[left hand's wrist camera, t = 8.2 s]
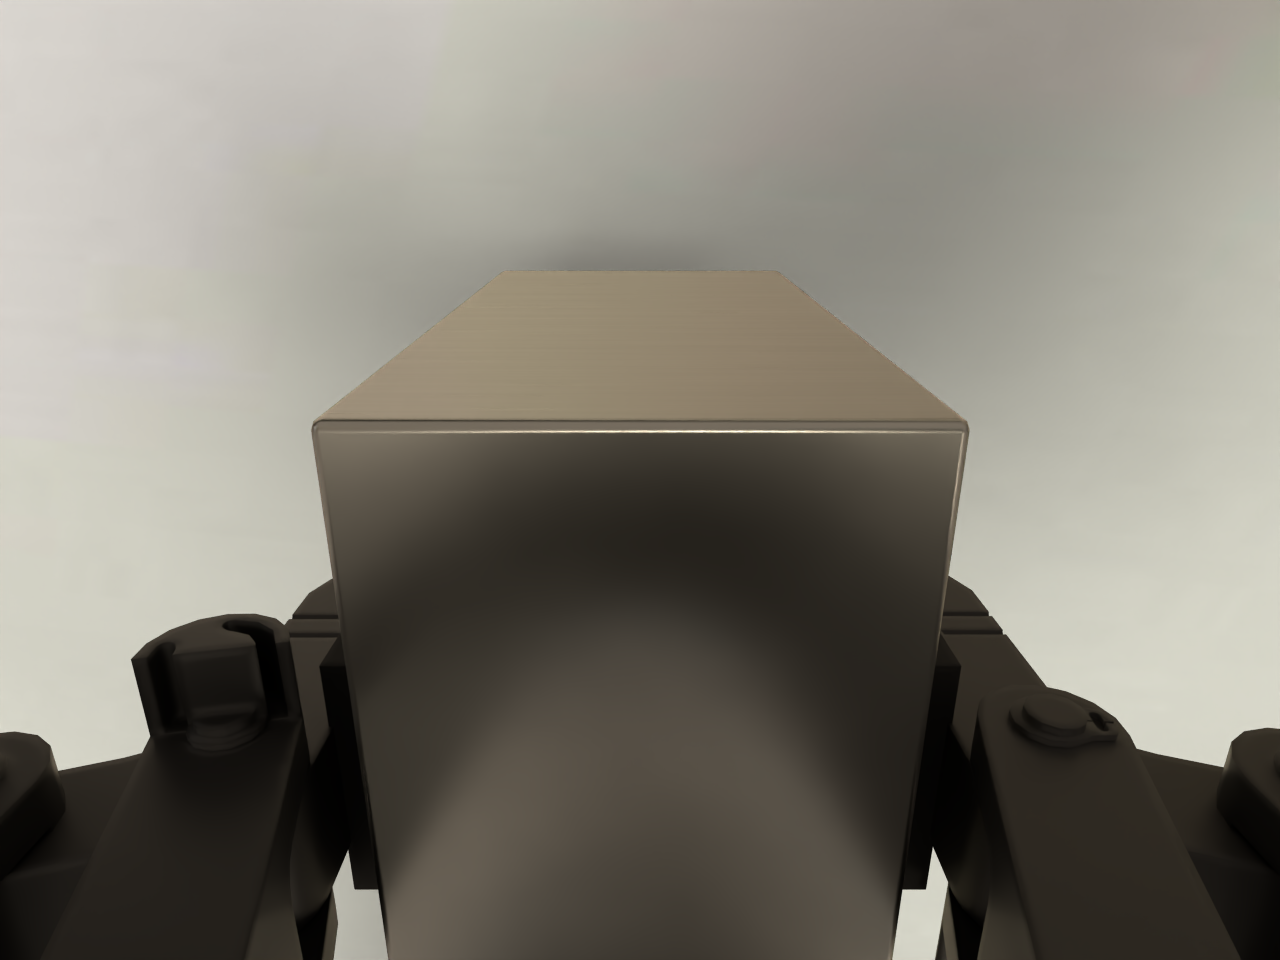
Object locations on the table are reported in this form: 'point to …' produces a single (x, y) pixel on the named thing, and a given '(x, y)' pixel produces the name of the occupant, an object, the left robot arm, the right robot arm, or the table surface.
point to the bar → (640, 619)
